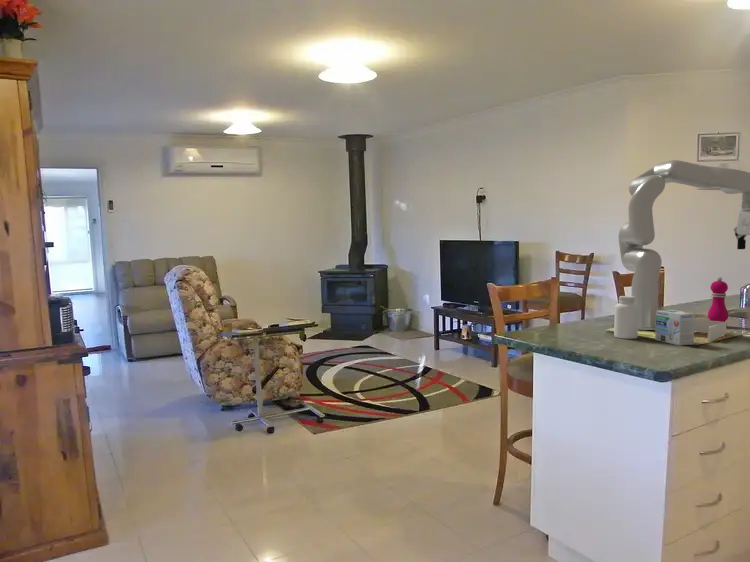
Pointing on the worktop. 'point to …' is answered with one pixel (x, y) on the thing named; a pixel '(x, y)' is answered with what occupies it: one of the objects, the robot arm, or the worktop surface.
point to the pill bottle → (626, 318)
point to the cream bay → (710, 328)
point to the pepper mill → (718, 301)
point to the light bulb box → (675, 327)
